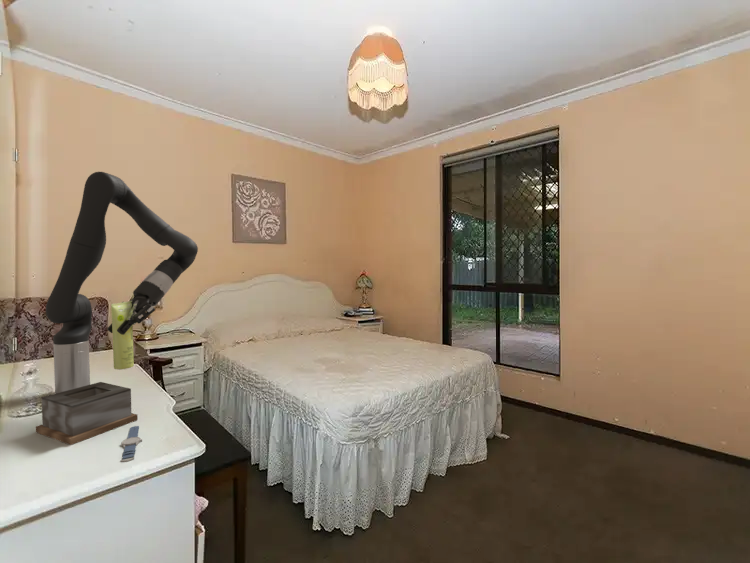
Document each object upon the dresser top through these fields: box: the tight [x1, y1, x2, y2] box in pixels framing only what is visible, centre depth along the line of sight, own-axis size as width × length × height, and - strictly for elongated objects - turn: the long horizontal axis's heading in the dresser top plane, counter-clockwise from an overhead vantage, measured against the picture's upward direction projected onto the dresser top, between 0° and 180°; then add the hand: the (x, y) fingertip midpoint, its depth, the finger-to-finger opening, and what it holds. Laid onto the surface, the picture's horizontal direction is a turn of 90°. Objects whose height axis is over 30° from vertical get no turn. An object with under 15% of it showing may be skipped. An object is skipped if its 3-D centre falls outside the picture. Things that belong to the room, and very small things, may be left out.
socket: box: [35, 381, 139, 446], centre depth 99 cm, size 16×16×9 cm
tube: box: [110, 300, 135, 371], centre depth 110 cm, size 6×5×20 cm
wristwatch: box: [120, 425, 143, 463], centre depth 90 cm, size 4×20×1 cm, turn 29°
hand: (115, 332), depth 108 cm, fingers closed on tube, 4 cm apart
